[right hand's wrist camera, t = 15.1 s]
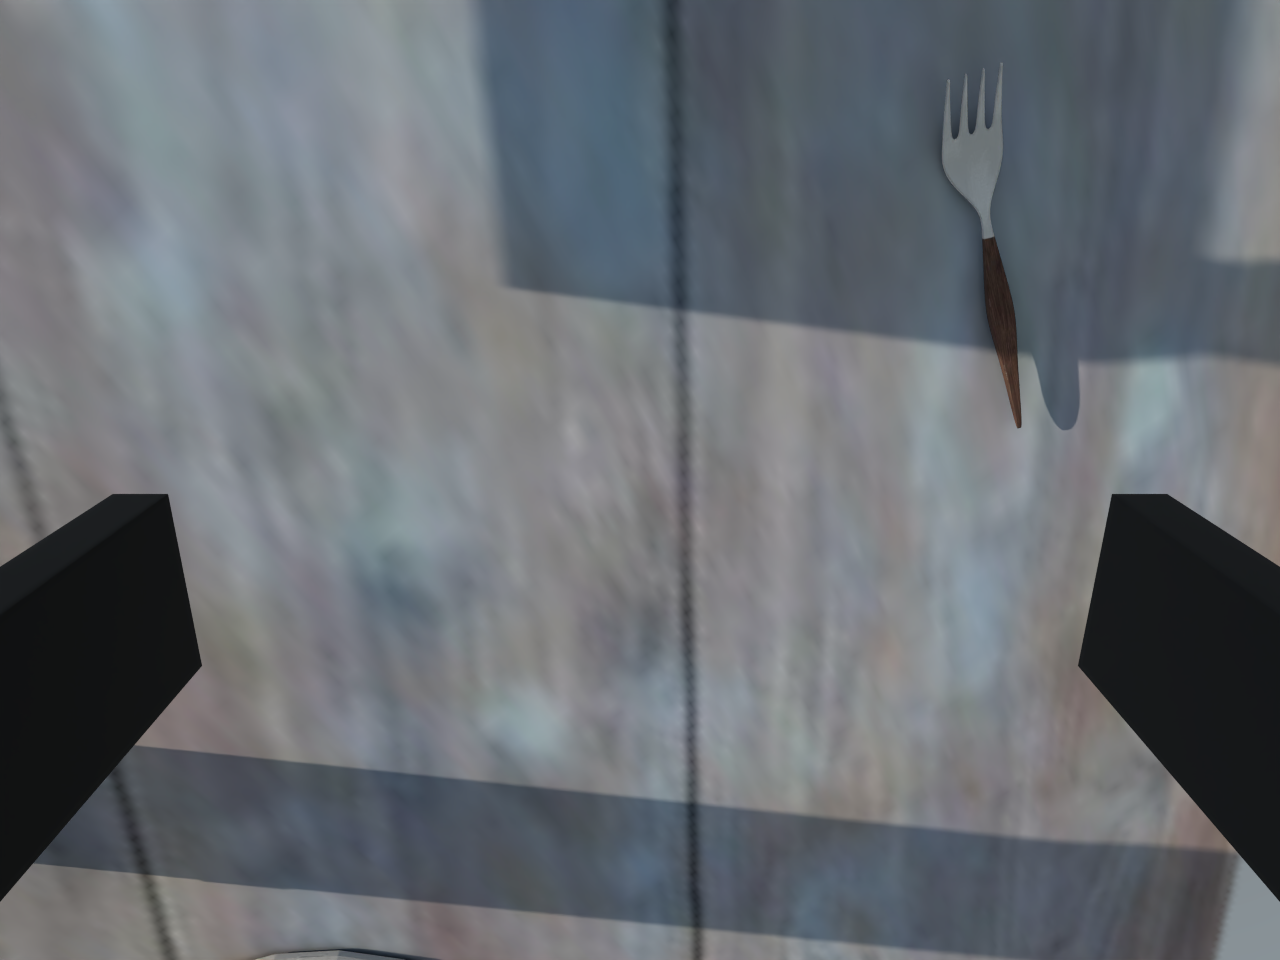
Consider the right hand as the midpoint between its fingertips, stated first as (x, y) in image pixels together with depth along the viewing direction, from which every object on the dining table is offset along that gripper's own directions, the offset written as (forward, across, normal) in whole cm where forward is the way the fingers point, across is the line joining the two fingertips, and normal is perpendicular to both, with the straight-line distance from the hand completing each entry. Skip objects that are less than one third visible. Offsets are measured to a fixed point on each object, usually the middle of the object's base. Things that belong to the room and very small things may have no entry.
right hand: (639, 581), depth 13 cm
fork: (+29, +16, +1) cm, 33 cm away
